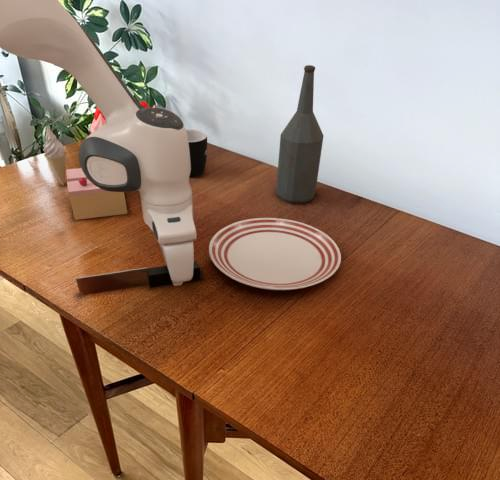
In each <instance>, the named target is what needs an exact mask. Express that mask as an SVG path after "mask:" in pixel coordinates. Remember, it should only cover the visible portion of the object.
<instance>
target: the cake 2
mask: <svg viewBox="0 0 500 480" xmlns="http://www.w3.org/2000/svg"><path fill="white" fill-rule="evenodd" d="M65 175H66V183H67V193H68V197H69V201H70V206H71V209H72V213H73V217H74V220H75V221H78V220H85V219H86V220H87V219H94V218H103V217H110V216H119V215H127V214H128V207H127V202H126V196H125V192H110V191H105V190H103V189H100V188H98V187H97V186H95V185H94V184H93V183H91V182H90V181H89V179H88V178H87V177H86V176H85V174H84V172H83V171H82V168H81V167H79V168H67V169H66V168H65Z"/></svg>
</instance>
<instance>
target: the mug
mask: <svg viewBox="0 0 500 480" xmlns="http://www.w3.org/2000/svg"><path fill="white" fill-rule="evenodd" d="M186 132H187V137H188V143H189V151H190V162H191V172H190V176H189V178H199V177H201V176H202V175H204V172H205V169H206V165H207V156H208V135H207V133H205V131H202V130H199V129H191V128H189V129H186Z"/></svg>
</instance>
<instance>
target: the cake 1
mask: <svg viewBox="0 0 500 480" xmlns="http://www.w3.org/2000/svg"><path fill="white" fill-rule="evenodd" d="M139 103H141V104H142V105H143V106H144V107H145V108H147V107H150V106H149V104H148V102H146V101H144V100H142V101H139ZM155 107H156V105H155V104H154V105H153V106H152V108H155ZM105 124H106V119H105V117H104V115H103V114H102V113H101V111H100V110H99V109H98V107H97V106H96V108H95V111H94V115H93V119H92V123H91V124H90V126H89V130H90V134H91V133H93V132H94V131H95V130H97V129H98V128H100V127H101V126H103V125H105Z"/></svg>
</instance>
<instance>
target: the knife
mask: <svg viewBox="0 0 500 480" xmlns="http://www.w3.org/2000/svg"><path fill="white" fill-rule="evenodd" d="M200 280H201V266H200V264H199V262H198V260H194V266H193V277H192V279H191V280H190V281H186V282H185V283H188V282H189V283H190V282H195V281H200ZM75 281H76V284H77V289H78V292H79V295H80V297H82V296H88V295H93V294H94V295H95V294H101V293H107V292H113V291H119V290H125V289H131V288H138V287H145V286H149V288H150V289H152V288H158V287H165V286H171V285H173V282H172V280H171V277H170V274H169V271H168V268H167V265H159V266H153V267H147V266H145V267H140V268H132V269H126V270H119V271H111V272H106V273H99V274H93V275H85V276H79V277H75Z"/></svg>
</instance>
